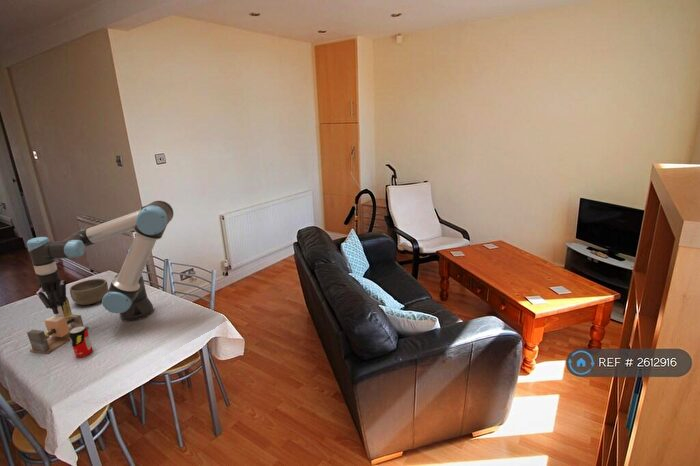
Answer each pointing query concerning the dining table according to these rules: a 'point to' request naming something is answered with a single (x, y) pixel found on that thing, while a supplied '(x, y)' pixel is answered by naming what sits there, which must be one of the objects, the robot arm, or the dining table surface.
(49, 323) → the sleeve
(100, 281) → the bowl
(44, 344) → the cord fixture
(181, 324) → the dining table surface
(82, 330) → the beverage can
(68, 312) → the sauce bottle
